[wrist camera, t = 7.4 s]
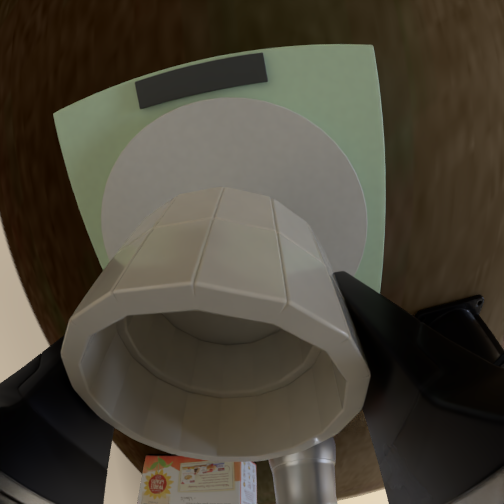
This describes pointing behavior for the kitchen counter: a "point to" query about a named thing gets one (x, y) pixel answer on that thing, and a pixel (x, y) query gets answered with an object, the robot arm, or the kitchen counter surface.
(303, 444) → the bowl
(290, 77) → the scale
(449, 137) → the kitchen counter surface
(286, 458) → the silver metal bottle
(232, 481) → the cracker box
